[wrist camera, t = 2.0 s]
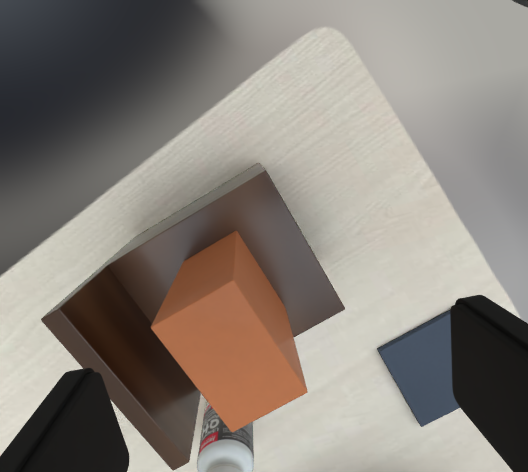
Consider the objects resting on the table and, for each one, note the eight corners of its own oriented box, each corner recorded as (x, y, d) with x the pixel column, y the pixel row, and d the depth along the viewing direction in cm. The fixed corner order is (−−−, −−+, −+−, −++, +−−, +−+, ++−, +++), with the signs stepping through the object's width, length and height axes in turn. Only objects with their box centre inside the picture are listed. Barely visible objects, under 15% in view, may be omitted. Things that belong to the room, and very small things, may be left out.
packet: (183, 261, 24) (149, 327, 15) (236, 229, 24) (233, 279, 15) (235, 336, 26) (231, 433, 17) (285, 308, 26) (308, 392, 17)
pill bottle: (211, 386, 38) (201, 466, 29) (258, 396, 39) (263, 477, 29) (199, 425, 39) (185, 514, 30) (244, 434, 40) (245, 524, 31)
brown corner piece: (259, 162, 32) (274, 180, 17) (318, 265, 35) (378, 362, 20) (134, 237, 33) (39, 319, 18) (202, 331, 36) (172, 471, 21)
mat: (458, 304, 37) (462, 307, 37) (495, 384, 40) (499, 387, 40) (376, 348, 38) (378, 351, 37) (418, 423, 41) (421, 427, 40)
